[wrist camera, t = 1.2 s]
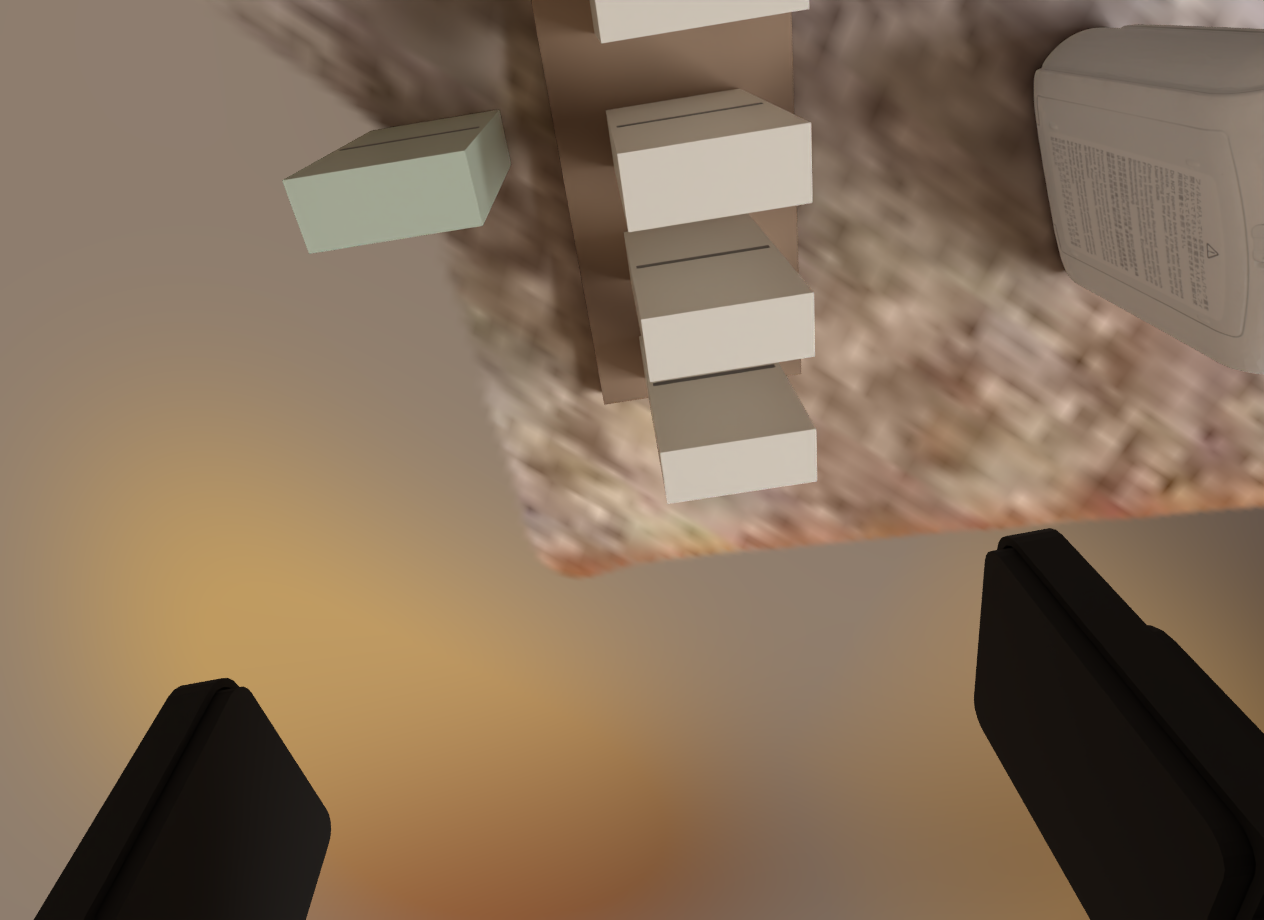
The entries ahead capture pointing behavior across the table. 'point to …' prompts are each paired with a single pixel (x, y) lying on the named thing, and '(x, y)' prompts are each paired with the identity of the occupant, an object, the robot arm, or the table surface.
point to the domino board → (579, 98)
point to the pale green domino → (402, 183)
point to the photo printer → (1162, 177)
